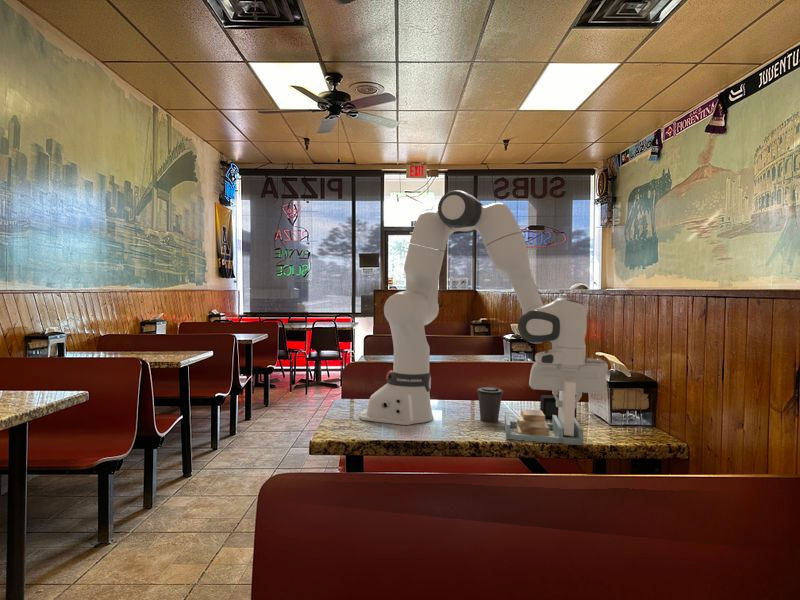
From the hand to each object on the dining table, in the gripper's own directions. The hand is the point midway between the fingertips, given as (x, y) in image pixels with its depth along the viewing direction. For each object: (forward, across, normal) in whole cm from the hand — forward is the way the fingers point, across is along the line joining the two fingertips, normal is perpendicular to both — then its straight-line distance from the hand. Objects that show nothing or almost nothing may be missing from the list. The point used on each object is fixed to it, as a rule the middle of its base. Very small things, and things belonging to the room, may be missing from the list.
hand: (566, 407), depth 140 cm
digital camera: (+8, -1, -21) cm, 22 cm away
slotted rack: (+8, +6, 0) cm, 10 cm away
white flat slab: (+6, 0, 0) cm, 6 cm away
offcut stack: (+8, +9, 0) cm, 12 cm away
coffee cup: (+8, +21, -13) cm, 26 cm away
